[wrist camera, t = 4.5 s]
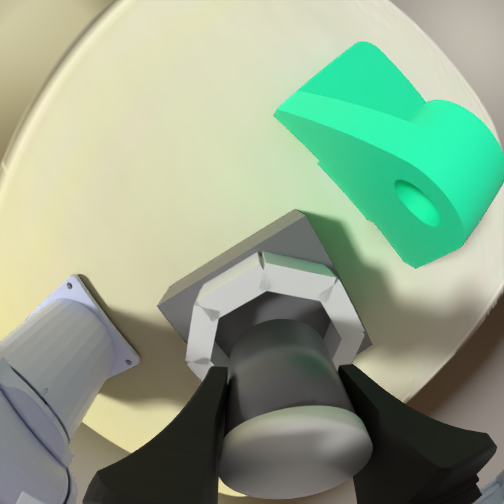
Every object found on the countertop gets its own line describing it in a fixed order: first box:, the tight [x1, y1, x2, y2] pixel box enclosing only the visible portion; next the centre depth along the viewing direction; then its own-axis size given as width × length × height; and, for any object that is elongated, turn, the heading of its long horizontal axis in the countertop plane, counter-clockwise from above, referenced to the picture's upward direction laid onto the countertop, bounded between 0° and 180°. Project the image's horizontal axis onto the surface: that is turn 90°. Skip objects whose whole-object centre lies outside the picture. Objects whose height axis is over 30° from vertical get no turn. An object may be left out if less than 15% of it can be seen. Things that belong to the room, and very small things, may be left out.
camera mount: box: [274, 42, 504, 269], centre depth 10 cm, size 12×8×10 cm, turn 46°
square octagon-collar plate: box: [157, 209, 372, 381], centre depth 15 cm, size 9×9×5 cm
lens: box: [218, 319, 373, 499], centre depth 9 cm, size 5×5×6 cm
